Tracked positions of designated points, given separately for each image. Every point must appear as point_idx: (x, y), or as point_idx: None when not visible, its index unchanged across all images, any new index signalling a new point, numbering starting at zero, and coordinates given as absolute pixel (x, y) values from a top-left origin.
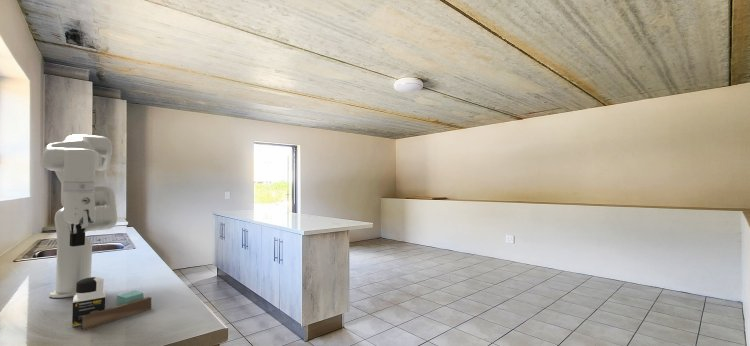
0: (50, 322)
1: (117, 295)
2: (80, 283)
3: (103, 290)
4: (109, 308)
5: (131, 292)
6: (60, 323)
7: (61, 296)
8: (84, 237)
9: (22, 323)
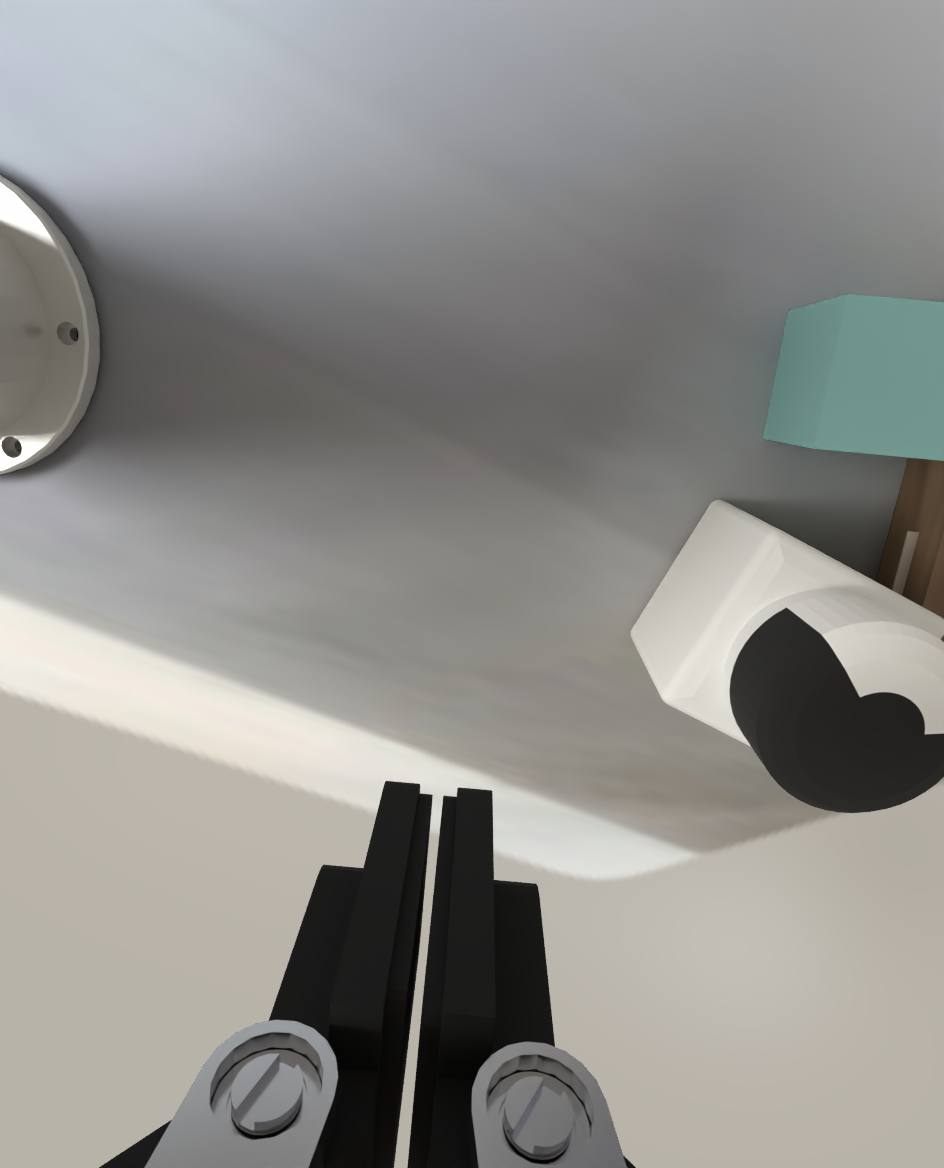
0: (551, 708)
1: (816, 448)
2: (880, 809)
3: (786, 549)
4: (936, 586)
5: (871, 346)
6: (627, 696)
7: (52, 448)
8: (491, 906)
9: (415, 769)
